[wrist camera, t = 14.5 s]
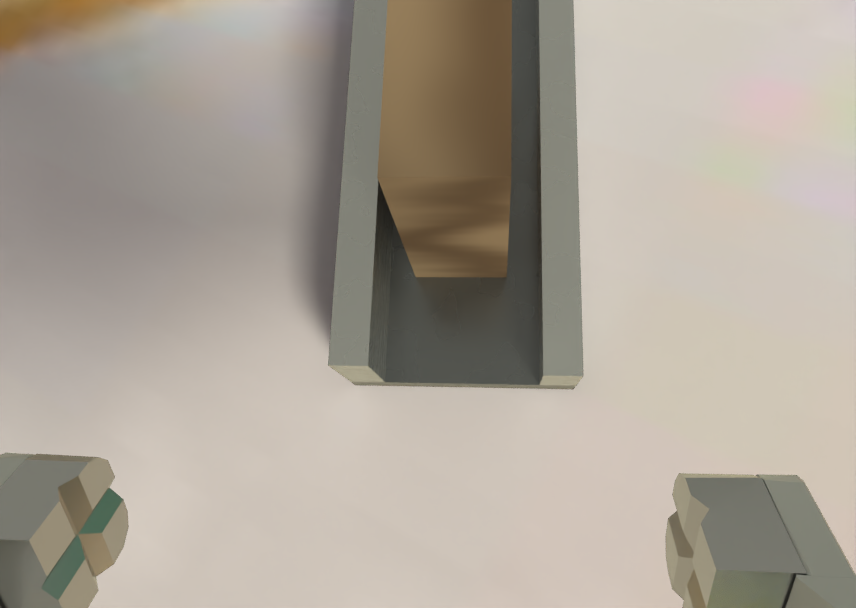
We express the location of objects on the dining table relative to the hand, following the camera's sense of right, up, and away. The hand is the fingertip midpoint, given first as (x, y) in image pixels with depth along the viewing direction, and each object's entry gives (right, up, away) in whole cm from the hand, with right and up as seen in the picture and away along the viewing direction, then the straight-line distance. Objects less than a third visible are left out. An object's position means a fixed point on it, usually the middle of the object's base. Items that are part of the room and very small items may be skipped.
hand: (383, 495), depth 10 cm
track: (+3, +9, +22) cm, 24 cm away
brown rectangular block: (+2, +9, +21) cm, 23 cm away
